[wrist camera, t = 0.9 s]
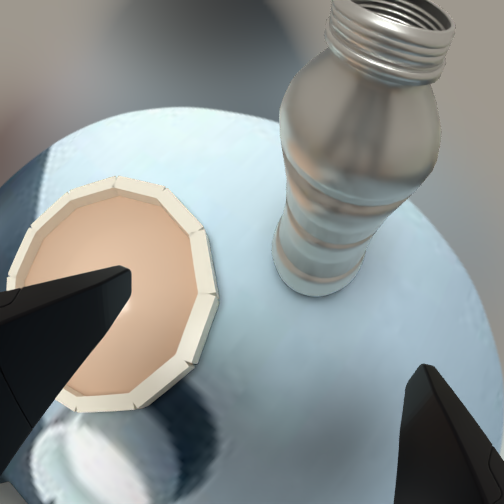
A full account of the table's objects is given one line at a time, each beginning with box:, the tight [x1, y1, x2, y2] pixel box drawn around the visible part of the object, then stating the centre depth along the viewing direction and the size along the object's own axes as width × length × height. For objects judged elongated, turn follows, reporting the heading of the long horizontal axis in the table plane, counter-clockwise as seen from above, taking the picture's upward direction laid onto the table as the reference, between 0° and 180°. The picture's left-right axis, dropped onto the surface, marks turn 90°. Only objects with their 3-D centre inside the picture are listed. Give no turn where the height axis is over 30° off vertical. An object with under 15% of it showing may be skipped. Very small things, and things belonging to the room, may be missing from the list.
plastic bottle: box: [272, 0, 456, 297], centre depth 15 cm, size 6×7×20 cm
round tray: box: [7, 176, 220, 413], centre depth 23 cm, size 19×19×2 cm
